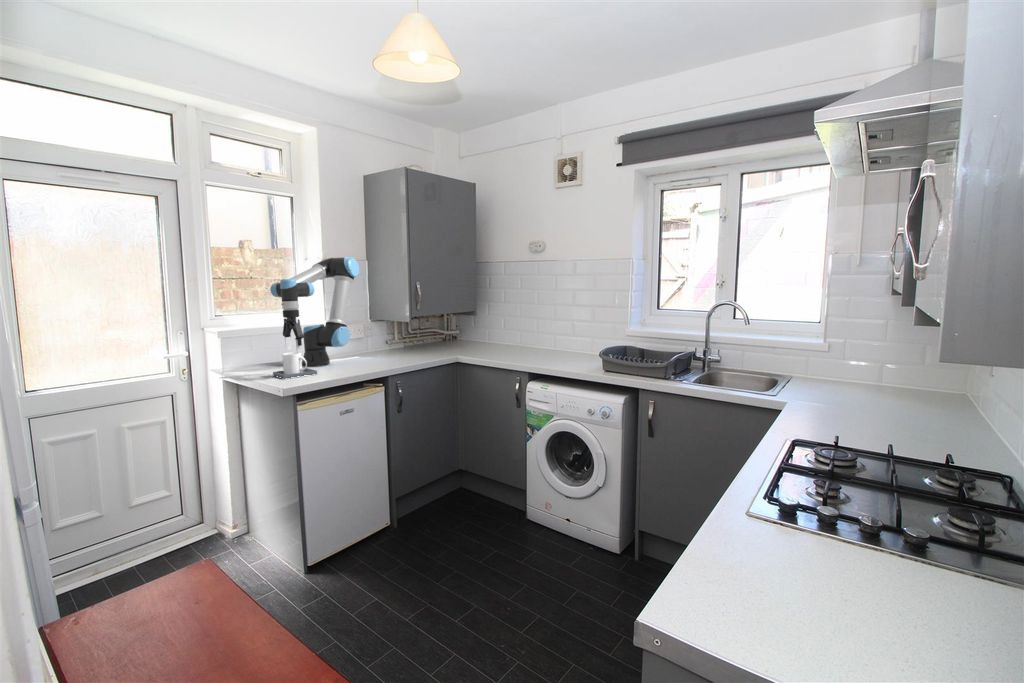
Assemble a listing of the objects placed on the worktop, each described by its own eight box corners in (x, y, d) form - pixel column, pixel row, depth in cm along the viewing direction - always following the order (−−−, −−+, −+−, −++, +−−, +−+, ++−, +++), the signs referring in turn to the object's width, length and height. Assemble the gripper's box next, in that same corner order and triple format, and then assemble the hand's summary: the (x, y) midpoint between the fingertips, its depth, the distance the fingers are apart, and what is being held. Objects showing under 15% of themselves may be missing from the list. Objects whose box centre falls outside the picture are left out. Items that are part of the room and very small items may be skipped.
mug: (303, 375, 242) (301, 354, 241) (280, 375, 243) (278, 354, 242) (311, 372, 251) (310, 352, 250) (289, 372, 252) (288, 352, 251)
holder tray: (305, 371, 258) (305, 367, 258) (317, 374, 248) (317, 370, 248) (273, 375, 246) (272, 372, 246) (284, 379, 236) (284, 375, 236)
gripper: (273, 309, 249) (277, 349, 252) (293, 310, 232) (296, 354, 235) (288, 308, 255) (291, 347, 258) (308, 309, 237) (311, 352, 240)
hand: (294, 350), depth 246 cm, fingers open, 13 cm apart
